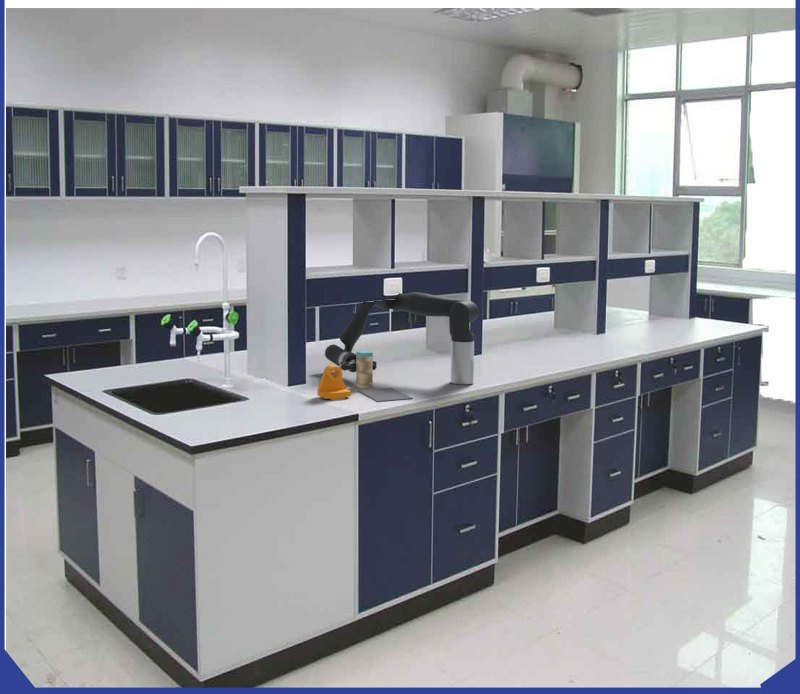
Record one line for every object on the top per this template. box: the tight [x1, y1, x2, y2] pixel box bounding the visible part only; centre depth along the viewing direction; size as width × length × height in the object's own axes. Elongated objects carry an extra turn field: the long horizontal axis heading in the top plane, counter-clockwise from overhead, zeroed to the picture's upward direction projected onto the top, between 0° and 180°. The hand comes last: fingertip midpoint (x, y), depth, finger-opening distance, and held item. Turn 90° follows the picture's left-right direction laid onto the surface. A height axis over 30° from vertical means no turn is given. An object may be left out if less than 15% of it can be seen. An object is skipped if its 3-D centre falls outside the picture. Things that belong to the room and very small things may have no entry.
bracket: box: [316, 364, 352, 401], centre depth 323 cm, size 11×7×12 cm, turn 117°
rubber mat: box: [357, 387, 413, 403], centre depth 328 cm, size 20×14×1 cm
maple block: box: [355, 350, 374, 389], centre depth 342 cm, size 5×5×14 cm
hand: (364, 368), depth 342 cm, fingers open, 8 cm apart
